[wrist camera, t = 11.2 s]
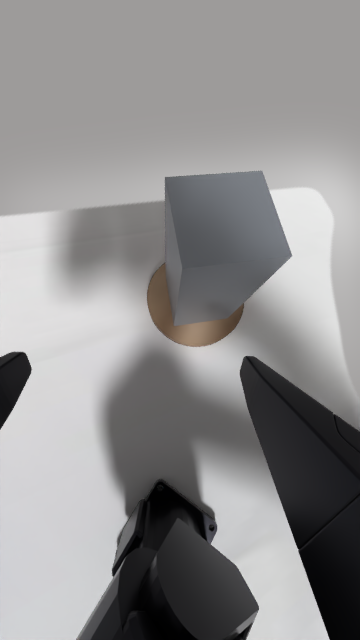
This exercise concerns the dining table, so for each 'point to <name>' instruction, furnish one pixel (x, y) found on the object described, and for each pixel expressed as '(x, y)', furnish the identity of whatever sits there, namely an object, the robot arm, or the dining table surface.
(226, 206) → the block
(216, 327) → the stub base
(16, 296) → the dining table surface
